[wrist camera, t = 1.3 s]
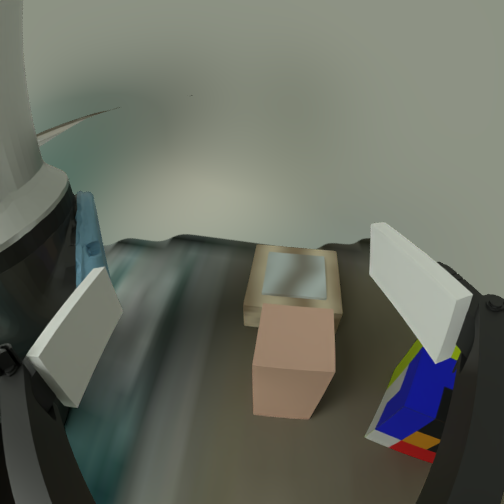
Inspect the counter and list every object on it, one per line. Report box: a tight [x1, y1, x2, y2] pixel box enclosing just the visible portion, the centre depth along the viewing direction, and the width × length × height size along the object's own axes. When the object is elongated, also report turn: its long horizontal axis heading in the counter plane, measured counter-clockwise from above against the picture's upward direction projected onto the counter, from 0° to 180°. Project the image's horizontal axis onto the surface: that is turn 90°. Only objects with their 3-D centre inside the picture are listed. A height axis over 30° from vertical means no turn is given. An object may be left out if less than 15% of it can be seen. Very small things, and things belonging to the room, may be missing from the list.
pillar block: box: [252, 303, 335, 419], centre depth 25 cm, size 6×6×12 cm
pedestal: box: [243, 244, 343, 334], centre depth 38 cm, size 12×12×5 cm
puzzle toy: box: [364, 339, 461, 463], centre depth 21 cm, size 10×10×10 cm
